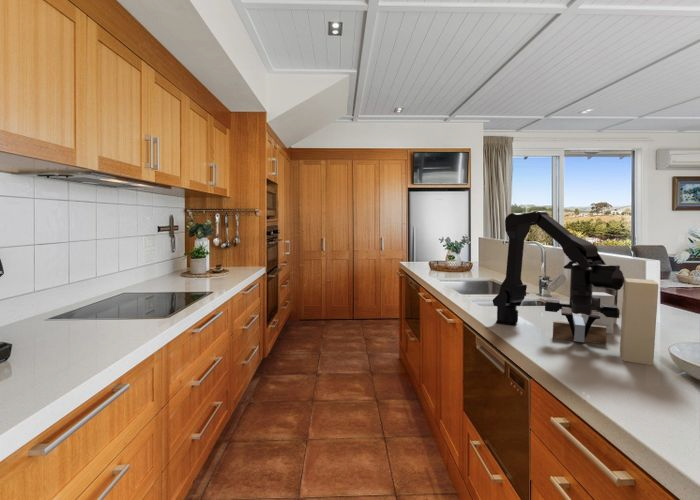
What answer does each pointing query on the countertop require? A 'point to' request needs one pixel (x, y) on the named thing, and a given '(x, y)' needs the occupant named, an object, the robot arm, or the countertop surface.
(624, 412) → the countertop surface
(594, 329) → the walnut block
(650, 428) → the countertop surface
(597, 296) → the supplement box
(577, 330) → the pale blue pillar
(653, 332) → the beige tall block
